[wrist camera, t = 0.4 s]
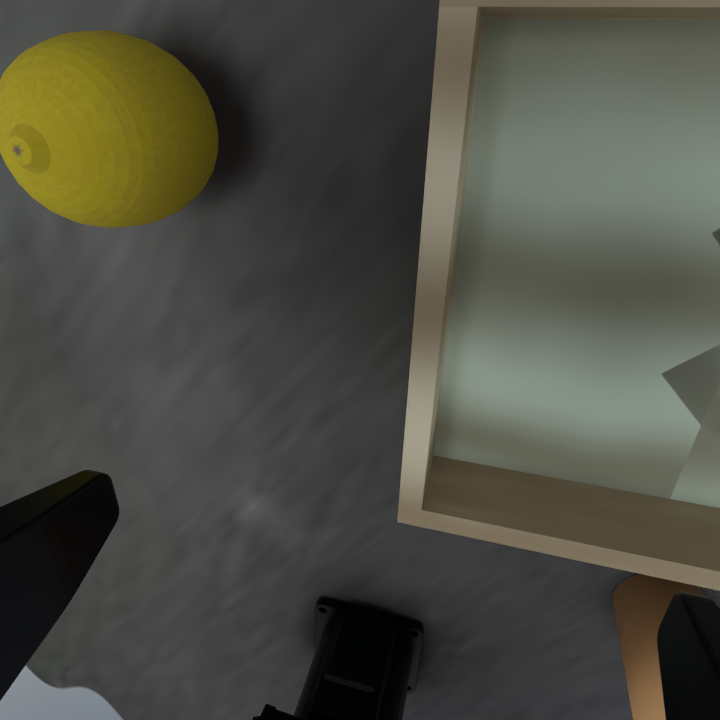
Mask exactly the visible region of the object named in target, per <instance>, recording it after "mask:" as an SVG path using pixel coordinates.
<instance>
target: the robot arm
mask: <svg viewBox="0 0 720 720" xmlns="http://www.w3.org/2000/svg"><path fill="white" fill-rule="evenodd" d="M118 516H119V505H118V501H117V498H116V494H115V490H114V487H113V483H112V480H111V478H110V476H109V475H108V474H105V473H101V472H96V471H91V470H85V471H81V472H79V473H77V474H74V475H72V476H70V477H68V478H65V479H63V480H61V481H58V482H56V483H54V484H52V485H49V486H47V487H45V488H42V489H40V490H38V491H36V492H33V493H31V494H29V495H27V496H24V497H22V498H20V499H17V500H15V501H13V502H11V503H8V504H6V505H4V506H1V507H0V700H1V699H2V697H3V696H4V695H5V693H6V692H7V690H8V689H9V688H10V686H11V685H12V683H13V682H14V681H15V679H16V678H17V676H18V675H19V674H20V672H21V670H22V669H23V668H24V666H25V665H26V664H27V662H28V661H29V659H30V658H31V657H32V655H33V654H34V652H35V651H36V650H37V648H38V647H39V645H40V644H41V642H42V641H43V640H44V638H45V637H46V635H47V634H48V633H49V631H50V630H51V628H52V627H53V626H54V624H55V623H56V621H57V620H58V618H59V617H60V616H61V614H62V613H63V611H64V610H65V608H66V607H67V605H68V604H69V602H70V601H71V599H72V597H73V596H74V594H75V593H76V591H77V589H78V588H79V586H80V584H81V582H82V581H83V579H84V577H85V576H86V574H87V572H88V570H89V569H90V567H91V565H92V564H93V562H94V560H95V558H96V557H97V555H98V553H99V552H100V550H101V548H102V546H103V545H104V543H105V541H106V539H107V538H108V536H109V534H110V533H111V531H112V529H113V527H114V526H115V524H116V522H117V519H118ZM423 631H424V629H423V626H422V625H421V624H419V623H417V622H413V621H409V620H405V619H401V618H397V617H393V616H389V615H385V614H381V613H377V612H374V611H370V610H366V609H362V608H358V607H354V606H350V605H346V604H342V603H338V602H334V601H330V600H326V599H319V600H317V603H316V606H315V636H316V653H315V655H314V658H313V661H312V664H311V667H310V670H309V673H308V676H307V679H306V682H305V684H304V687H303V690H302V693H301V696H300V699H299V702H298V705H297V708H296V711H295V713H294V716H293V715H290V714H288V713H285V712H282V711H279V710H276V707H274V706H271V705H269V704H266V705H265V707H264V709H263V712H262V714H261V716H257V717H253V719H252V720H402V717H403V712H404V706H405V700H406V695H407V692H409V693H411V692H414V691H415V689H416V683H417V675H418V668H419V661H420V653H421V646H422V638H423ZM657 648H658V657H659V665H660V674H661V683H662V691H663V700H664V708H665V717H666V720H720V607H719V606H718V604H717V603H716V602H714V601H713V600H712V599H710V598H709V597H706V596H702V595H697V594H692V593H687V592H677V593H675V594H674V595H673V597H672V599H671V601H670V603H669V606H668V608H667V610H666V612H665V615H664V617H663V619H662V621H661V624H660V626H659V629H658V634H657Z"/></svg>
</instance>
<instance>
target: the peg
mask: <svg viewBox="0 0 720 720" xmlns="http://www.w3.org/2000/svg"><path fill="white" fill-rule="evenodd" d="M677 592H687V593H692V594H697V595H702V596H704V594H703V592H702V591H701V590H700V589H699V588H698V587H697V586H695V585H690V584H686V583H681V582H676V581H671V580H667V579H662V578H657V577H653V576H648V575H643V574H638V575H634V576H632V577H629V578H627V579H625V580H624V581H622V582H621V583H620V584H618V585H617V587H616V588H615V590H614V592H613V595H612V603H613V608H614V614H615V620H616V625H617V631H618V637H619V642H620V648H621V654H622V659H623V665H624V671H625V676H626V682H627V688H628V693H629V699H630V704H631V710H632V716H633V720H666V717H665V708H664V700H663V691H662V683H661V674H660V665H659V657H658V648H657V634H658V629H659V626H660V624H661V621H662V619H663V617H664V615H665V612H666V610H667V608H668V606H669V603H670V601H671V599H672V597H673V595H674V594H675V593H677Z"/></svg>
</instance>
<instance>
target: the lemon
mask: <svg viewBox="0 0 720 720" xmlns="http://www.w3.org/2000/svg"><path fill="white" fill-rule="evenodd" d="M0 153H1V155H2V157H3V159H4V161H5V163H6V166H7V167H8V169H9V170H10V171H11V173H12V174H13V176H14V177H15V179H16V180H17V182H18V183H19V184H20V185H21V186H22V187H23V188H24V189H25V190H26V191H27V192H28V193H29V194H30V196H32V197H33V198H34V199H35V200H37V201H38V202H39V203H41V204H42V205H44V206H45V207H46V208H48V209H49V210H50V211H52V212H54V213H57V214H59V215H61V216H63V217H65V218H68V219H70V220H72V221H74V222H78V223H83V224H88V225H93V226H98V227H108V228H116V227H127V226H136V225H144V224H149V223H153V222H156V221H158V220H161V219H163V218H165V217H167V216H169V215H172V214H174V213H176V212H178V211H180V210H181V209H183V208H184V207H185V206H186V205H187V204H189V203H190V202H191V201H192V200H193V199H194V198H195V197H196V196H197V195H198V194H199V193H200V192H201V191H202V190H203V189H204V187H205V185H206V183H207V182H208V180H209V178H210V176H211V174H212V173H213V170H214V167H215V163H216V158H217V154H218V128H217V123H216V118H215V113H214V111H213V109H212V106H211V104H210V101H209V99H208V97H207V94H206V92H205V91H204V89H203V88H202V86H201V85H200V83H199V82H198V80H197V79H196V77H195V76H194V75H193V74H192V73H191V72H190V71H189V70H188V69H187V68H186V67H185V66H184V65H183V64H182V63H181V62H180V61H179V60H178V59H177V58H176V57H174V56H173V55H171V54H169V53H168V52H166V51H164V50H163V49H161V48H159V47H157V46H156V45H154V44H152V43H151V42H148V41H146V40H143V39H140V38H136V37H133V36H129V35H125V34H122V33H118V32H114V31H80V32H71V33H65V34H61V35H58V36H55V37H52V38H50V39H48V40H46V41H43V42H41V43H39V44H37V45H35V46H33V47H31V48H29V49H27V50H25V51H24V52H23V53H21V54H20V55H19V56H18V57H17V58H16V59H15V60H14V61H13V62H12V63H11V64H10V66H9V67H8V68H7V69H6V71H5V72H4V73H3V75H2V77H1V80H0Z"/></svg>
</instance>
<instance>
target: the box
mask: <svg viewBox="0 0 720 720" xmlns="http://www.w3.org/2000/svg"><path fill="white" fill-rule="evenodd" d="M397 522H400V523H405V524H409V525H414V526H419V527H423V528H428V529H433V530H438V531H442V532H447V533H452V534H456V535H461V536H466V537H470V538H475V539H480V540H484V541H489V542H494V543H498V544H503V545H508V546H512V547H517V548H522V549H526V550H531V551H536V552H540V553H545V554H550V555H555V556H559V557H564V558H569V559H573V560H578V561H583V562H587V563H592V564H597V565H601V566H606V567H611V568H615V569H620V570H625V571H629V572H634V573H639V574H643V575H648V576H653V577H657V578H662V579H667V580H671V581H676V582H681V583H686V584H690V585H695V586H700V587H704V588H709V589H714V590H718V591H720V0H440V4H439V16H438V28H437V40H436V53H435V65H434V77H433V90H432V102H431V114H430V127H429V139H428V151H427V163H426V176H425V188H424V200H423V213H422V225H421V237H420V249H419V262H418V274H417V286H416V299H415V311H414V323H413V336H412V348H411V360H410V372H409V385H408V397H407V409H406V422H405V434H404V446H403V458H402V471H401V483H400V495H399V508H398V520H397Z"/></svg>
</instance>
